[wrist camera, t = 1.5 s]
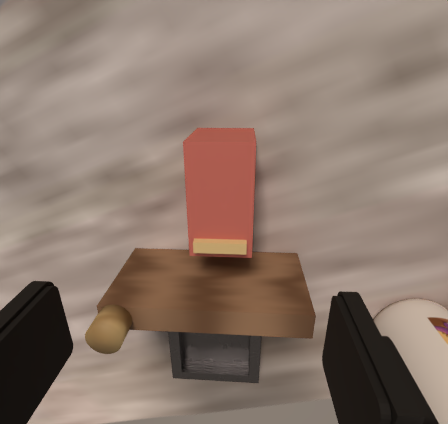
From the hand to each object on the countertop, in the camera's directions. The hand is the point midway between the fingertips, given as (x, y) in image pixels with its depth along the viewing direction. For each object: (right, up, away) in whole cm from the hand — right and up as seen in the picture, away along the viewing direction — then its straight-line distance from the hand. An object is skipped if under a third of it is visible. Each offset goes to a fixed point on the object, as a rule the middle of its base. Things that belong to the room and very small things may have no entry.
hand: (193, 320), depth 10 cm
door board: (0, -1, +18) cm, 18 cm away
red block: (+1, +7, +15) cm, 16 cm away
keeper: (0, -8, +21) cm, 22 cm away
